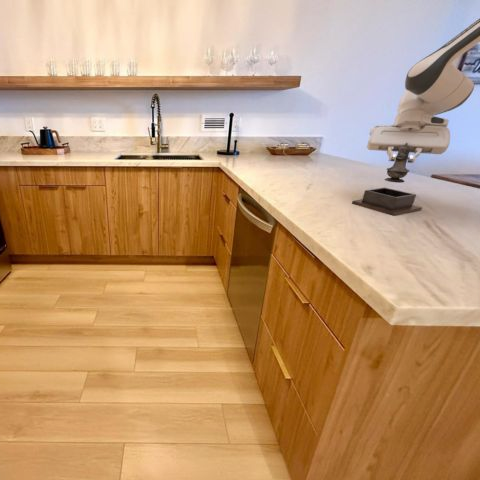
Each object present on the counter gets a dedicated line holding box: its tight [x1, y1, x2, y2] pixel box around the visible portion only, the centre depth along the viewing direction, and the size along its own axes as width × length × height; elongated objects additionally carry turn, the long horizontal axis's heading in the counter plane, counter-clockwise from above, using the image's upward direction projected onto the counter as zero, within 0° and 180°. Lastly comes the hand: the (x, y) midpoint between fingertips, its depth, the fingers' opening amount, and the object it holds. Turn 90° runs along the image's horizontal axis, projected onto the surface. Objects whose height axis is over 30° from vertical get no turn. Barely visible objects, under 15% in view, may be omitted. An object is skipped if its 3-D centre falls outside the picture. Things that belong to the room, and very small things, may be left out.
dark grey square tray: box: [351, 187, 423, 217], centre depth 96 cm, size 14×14×5 cm
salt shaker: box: [384, 143, 411, 184], centre depth 92 cm, size 6×6×12 cm
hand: (401, 160), depth 90 cm, fingers closed on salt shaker, 3 cm apart
